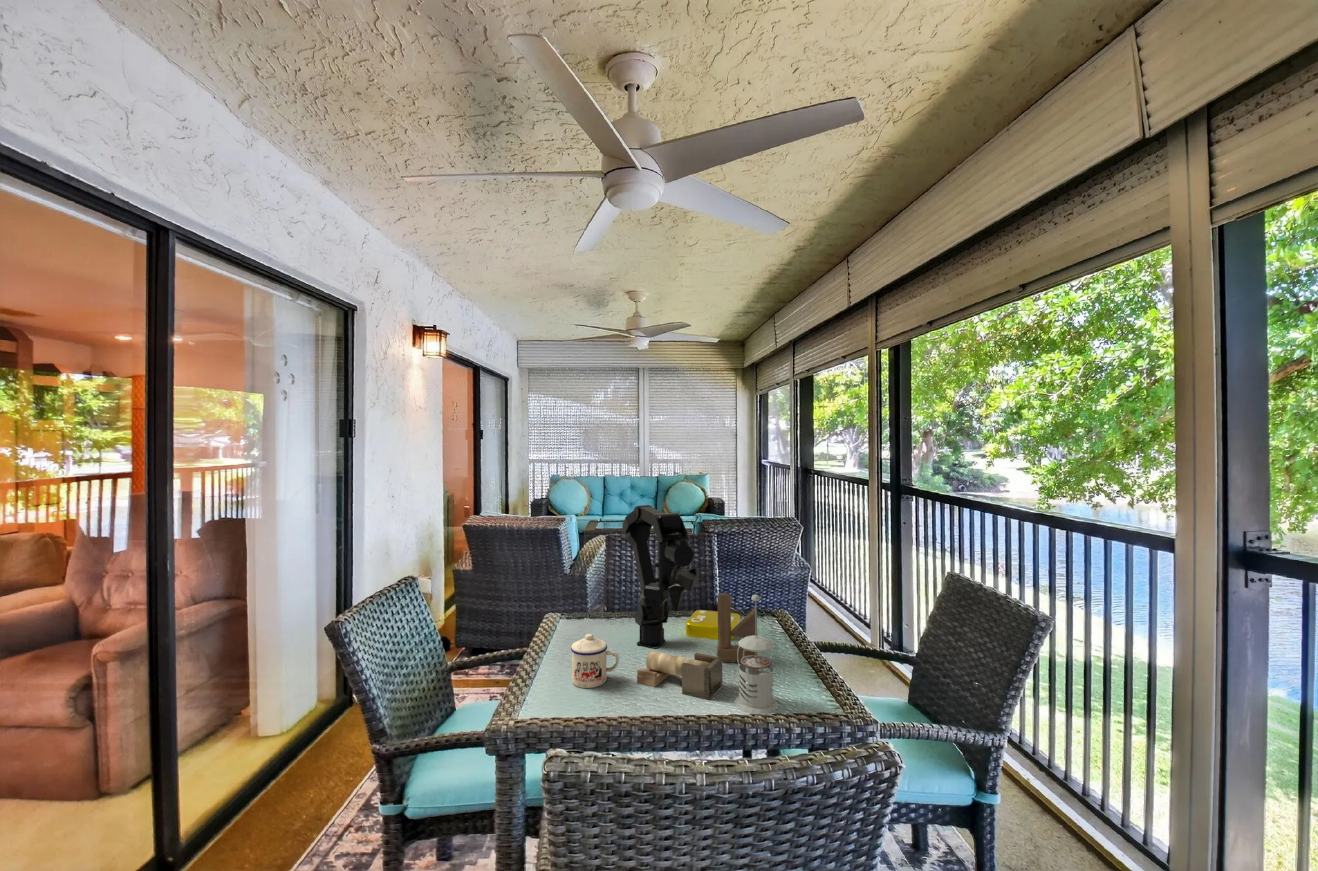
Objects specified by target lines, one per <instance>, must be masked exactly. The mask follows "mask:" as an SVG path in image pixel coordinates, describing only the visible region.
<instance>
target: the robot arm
mask: <svg viewBox="0 0 1318 871" xmlns="http://www.w3.org/2000/svg"><path fill="white" fill-rule="evenodd" d="M621 528H622V529H621V530H622V532H623V534H624V537H625V540H626V541H627V543H629V545H630V546H631V547H632V549H633V554H634V555H633V556H634V559H635V560H634V561H635V565H636V569H637V574H638V579H639V585H640V588H641V589H640V590H641V594H640V596H639V599H638V608H637V609H636V611H635V613H634V621H635V624H637V626H639V641H638V642H636V645H637V646H642V647H647V648H651V649H652V648H653V649H657V648H658V647H660V646H661V645H662V644H664V643H665V642H666V639H665V628H664V627H663V624H667V623H668V619H669V614H670V613H669V612H670V606H669V604H668V599H669V598H670V602H671V606H672V610H673V611H674V612H678V611H679V608H680V605H681V601H682V597H683V596H684V595H683V594H684V591H691V590H692V589H695V588H696V587H697V585H698V584H697V583H698V582H699V581H700V579H701V578H700V573H699V572H700V571H699V568H697V567H696V566H695V567H692V568H691V569H688V568H687V569H686V568H685V567H687V566H689V565H690V564H692V562H693V561H694V556H695V555H694V550H693V549H692V547H691V546H690V545H688V543H687V542H688V539H689V538H688V531H687V528H686V526H685V523H684V521H683V518H682V517H681V515H680V514H679V513H677V512H664V511H662V510H659V509H657V508H654V507H653V506H652V505H649V504H644V505H643V504H641V505H636V506H634V508H633V510H632V511H631V512H629V514H627V515H626V516H625V517H624V519H623V522H622V527H621ZM651 529H653V532H655V535H656V537H655V540H656V541H657V562H655V563H654V567H653V563H652V558H651V553H650V548H649V543H648V541H649V539H650V537H651ZM654 568H657V577H655V576H656V575H655V572H654Z"/></svg>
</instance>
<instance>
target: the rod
mask: <svg viewBox="0 0 1318 871" xmlns="http://www.w3.org/2000/svg"><path fill="white" fill-rule="evenodd" d="M683 663H688V664H693V665H698V666H702V667H707V666H708V665H709V664H710V663H709V662H704V661H699V660H695V658H694V659H693V658H689V657H683V656H678V655H673V654H668V653H662V652H659V651H654V650H650V651H649V652H648V654H647V655H646V659H645V665H646V668H648V669H650V670H655V671H659V672H664V673H668V674H670V675H674V676H679V677H682V664H683Z"/></svg>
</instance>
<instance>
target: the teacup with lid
mask: <svg viewBox="0 0 1318 871" xmlns="http://www.w3.org/2000/svg"><path fill="white" fill-rule="evenodd" d="M570 650H571V681H572V684H573V685H574V686H576V687H577V688H580V689H581V688H582V689H592V688H598V687H600V686H602V685H604V684H605V683H606V682H607V673H608V672H609V673H610V672H613V671H615V669H616V668H617V667H618V665H619V661H620V657H619V654H618V653H617V652H615V651H612V650H608V644H607V643H606V641H605V640H602V639H599V638H596V637H594V635H593V633H592V634H591V633H587V634H585V636H584V638H582V639H579V640H577V641H575V642H573V643H572V645H571V647H570ZM607 650H608V651H607ZM607 656H613V657H615V660H616V661H615V663H614V665H613V666H611V667H607Z"/></svg>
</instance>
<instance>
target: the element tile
mask: <svg viewBox="0 0 1318 871" xmlns="http://www.w3.org/2000/svg"><path fill="white" fill-rule="evenodd" d="M740 622H741V615H740V614H739V613H736V612H735V613H734V612H731V631H732V630H733V629H734V628H735V627H736V626H737V625H738V624H739V623H740ZM685 635H686V636H687V637H690V638H696V639H697V638H698V639H707V640H714V641H715V640H716V641H718V611H715V610H714V611H713V610H706V609H705V610H703V609H697V610H695V611H694V612H693V613H692V614H691V616H689V618H688V619H687V620H686V622H685ZM735 638H736V636H731V641H733V640H734V639H735Z"/></svg>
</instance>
